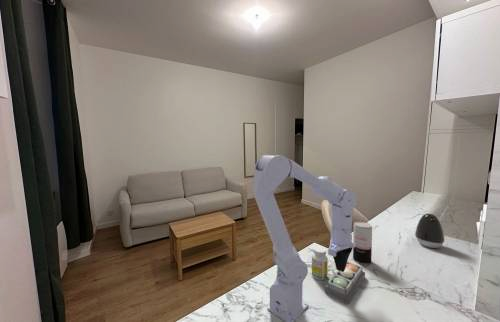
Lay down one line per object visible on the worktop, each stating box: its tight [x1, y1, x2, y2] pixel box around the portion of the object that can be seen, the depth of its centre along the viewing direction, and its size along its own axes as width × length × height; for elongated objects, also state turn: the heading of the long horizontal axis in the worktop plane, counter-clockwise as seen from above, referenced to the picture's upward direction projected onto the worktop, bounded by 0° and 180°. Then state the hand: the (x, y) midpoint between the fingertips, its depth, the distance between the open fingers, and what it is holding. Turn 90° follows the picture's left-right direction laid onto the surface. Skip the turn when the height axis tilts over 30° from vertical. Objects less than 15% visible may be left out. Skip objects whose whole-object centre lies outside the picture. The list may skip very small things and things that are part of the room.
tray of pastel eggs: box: [324, 261, 366, 305], centre depth 66 cm, size 17×7×4 cm, turn 136°
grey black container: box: [352, 221, 373, 265], centre depth 81 cm, size 6×6×15 cm
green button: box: [333, 278, 347, 289], centre depth 63 cm, size 4×4×2 cm
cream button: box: [340, 268, 353, 279], centre depth 66 cm, size 4×4×2 cm
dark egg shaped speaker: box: [414, 213, 445, 249], centre depth 93 cm, size 10×10×15 cm
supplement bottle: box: [311, 246, 329, 281], centre depth 71 cm, size 5×5×10 cm
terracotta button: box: [346, 263, 358, 273], centre depth 70 cm, size 4×4×2 cm
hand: (340, 269), depth 62 cm, fingers closed
